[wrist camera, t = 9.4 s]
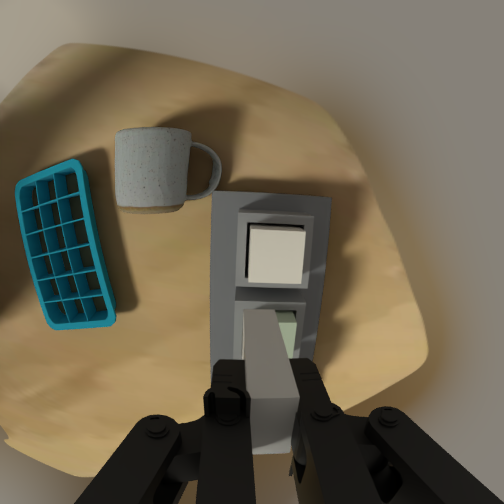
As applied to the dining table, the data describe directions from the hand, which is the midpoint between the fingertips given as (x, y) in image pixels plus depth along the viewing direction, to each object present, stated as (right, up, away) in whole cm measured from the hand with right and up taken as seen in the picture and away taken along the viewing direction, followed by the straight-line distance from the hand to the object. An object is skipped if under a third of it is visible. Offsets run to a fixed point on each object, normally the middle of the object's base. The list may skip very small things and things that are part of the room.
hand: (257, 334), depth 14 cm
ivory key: (+2, +5, +14) cm, 15 cm away
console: (+1, -2, +20) cm, 21 cm away
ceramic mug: (-9, +13, +17) cm, 23 cm away
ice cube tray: (-24, +5, +19) cm, 31 cm away
